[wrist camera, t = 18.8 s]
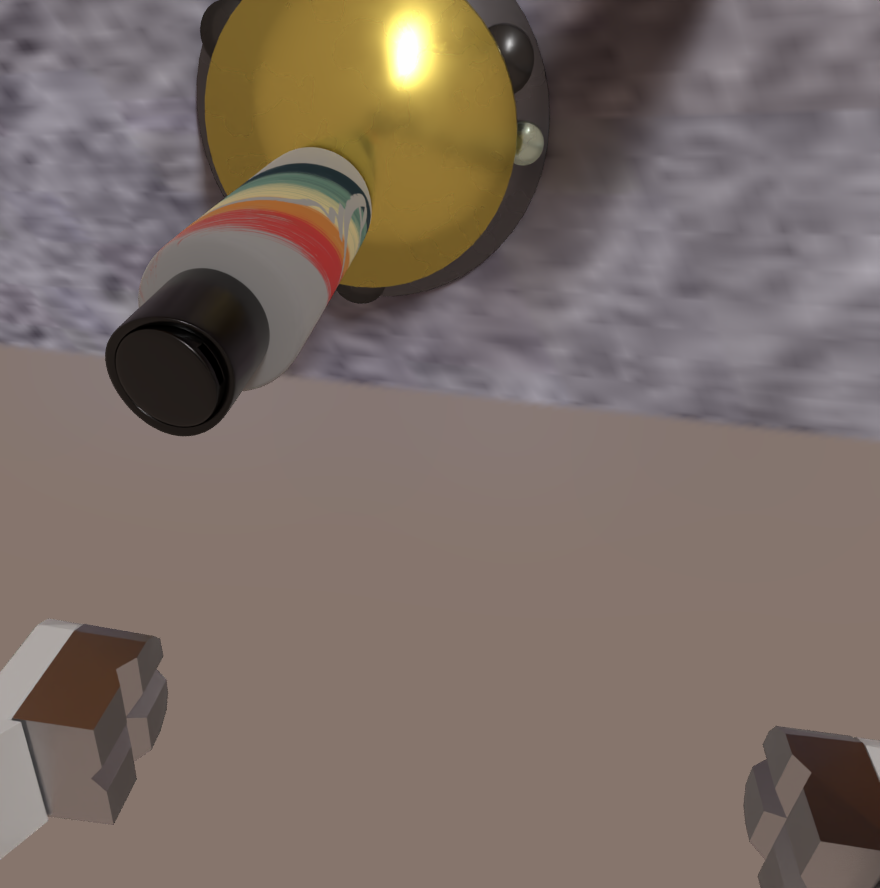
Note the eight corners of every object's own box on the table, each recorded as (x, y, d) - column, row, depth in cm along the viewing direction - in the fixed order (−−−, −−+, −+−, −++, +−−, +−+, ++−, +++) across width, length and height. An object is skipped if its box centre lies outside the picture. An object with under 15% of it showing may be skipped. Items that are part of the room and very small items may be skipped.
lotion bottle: (391, 240, 40) (295, 442, 23) (290, 274, 41) (130, 489, 24) (346, 127, 37) (200, 259, 20) (241, 167, 39) (22, 324, 22)
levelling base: (577, -70, 35) (579, -74, 32) (524, 310, 45) (522, 333, 42) (186, -104, 36) (154, -111, 33) (213, 273, 46) (190, 293, 43)
